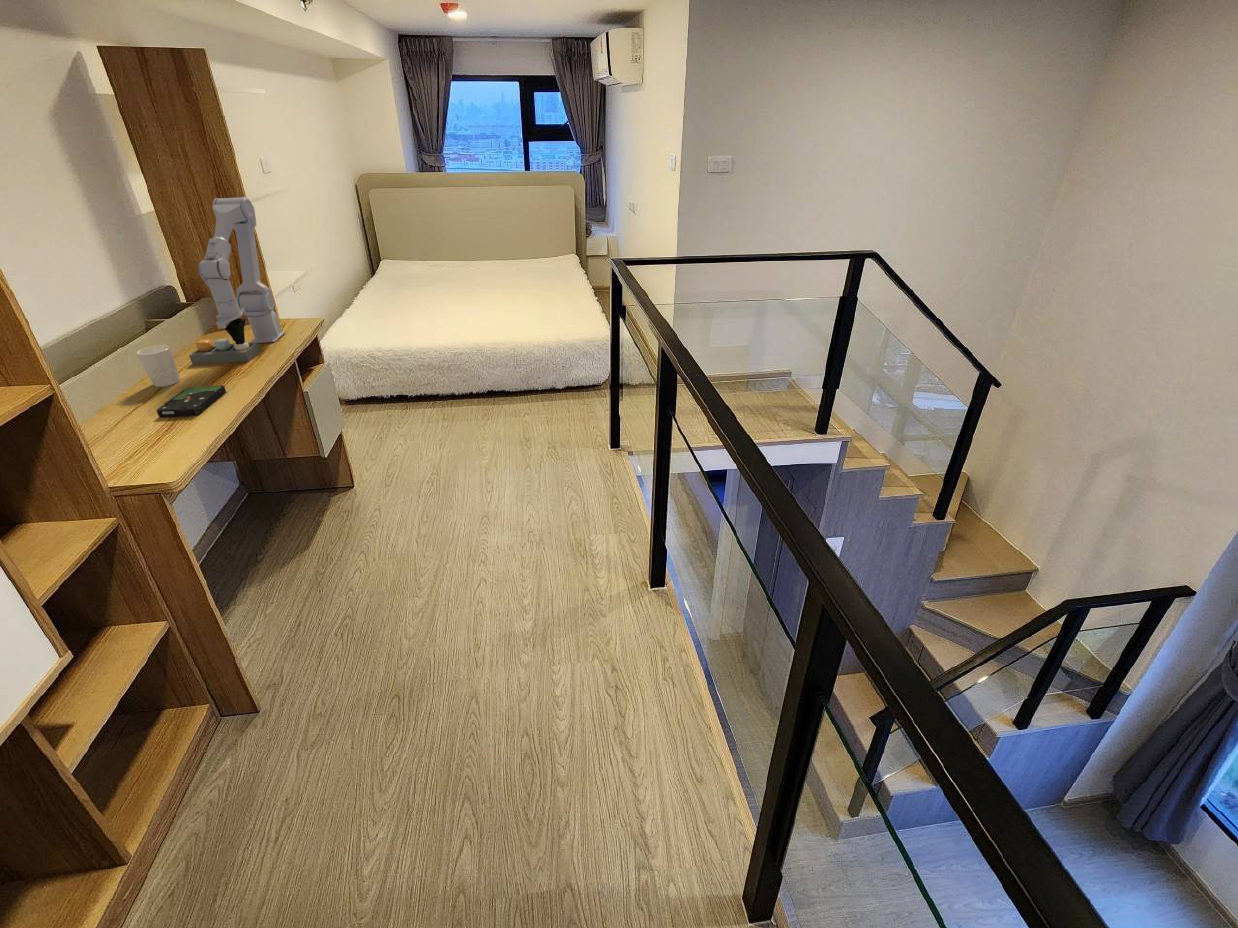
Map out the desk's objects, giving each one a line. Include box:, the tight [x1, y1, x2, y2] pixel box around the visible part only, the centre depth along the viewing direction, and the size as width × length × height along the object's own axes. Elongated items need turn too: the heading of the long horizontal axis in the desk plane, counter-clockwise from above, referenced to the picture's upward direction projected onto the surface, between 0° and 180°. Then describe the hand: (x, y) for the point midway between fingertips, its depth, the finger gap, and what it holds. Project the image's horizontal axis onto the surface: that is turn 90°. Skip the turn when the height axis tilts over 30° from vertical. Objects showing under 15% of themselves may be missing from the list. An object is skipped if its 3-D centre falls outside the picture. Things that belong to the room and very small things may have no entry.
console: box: [188, 341, 262, 366], centre depth 198 cm, size 9×17×3 cm, turn 94°
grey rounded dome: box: [213, 338, 231, 351], centre depth 196 cm, size 4×4×3 cm
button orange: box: [195, 338, 213, 352], centre depth 196 cm, size 4×4×3 cm
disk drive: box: [156, 384, 227, 419], centre depth 168 cm, size 10×3×15 cm
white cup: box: [136, 344, 181, 388], centre depth 180 cm, size 8×8×10 cm
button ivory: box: [234, 340, 250, 351], centre depth 197 cm, size 4×4×3 cm
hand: (240, 343), depth 197 cm, fingers closed, pressing on button ivory
